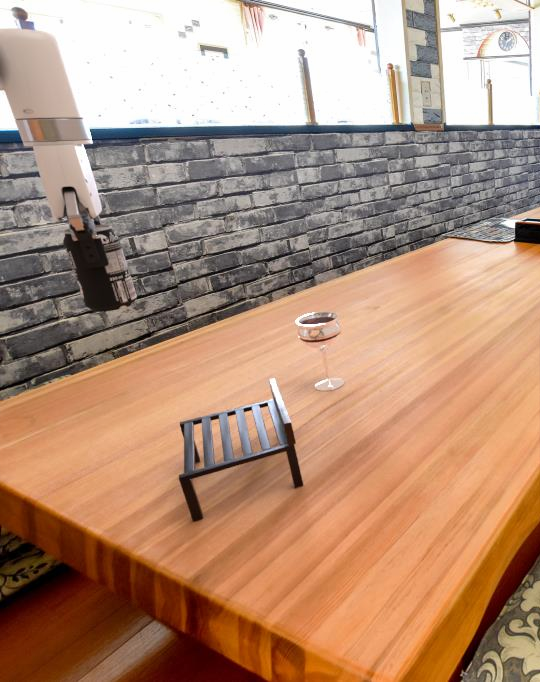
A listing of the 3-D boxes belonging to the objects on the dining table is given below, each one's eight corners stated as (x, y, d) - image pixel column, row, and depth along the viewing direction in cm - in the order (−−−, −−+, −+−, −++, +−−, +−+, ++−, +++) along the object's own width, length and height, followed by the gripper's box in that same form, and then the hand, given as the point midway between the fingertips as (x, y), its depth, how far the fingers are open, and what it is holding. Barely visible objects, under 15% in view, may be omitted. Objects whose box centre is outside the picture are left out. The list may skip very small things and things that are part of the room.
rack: (193, 521, 60) (170, 455, 56) (191, 460, 71) (173, 401, 68) (305, 485, 65) (291, 422, 62) (287, 433, 77) (274, 377, 73)
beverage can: (85, 306, 82) (57, 228, 78) (135, 297, 86) (111, 222, 82) (89, 316, 78) (60, 234, 73) (141, 305, 82) (117, 227, 77)
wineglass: (358, 378, 93) (347, 313, 88) (332, 395, 87) (319, 327, 82) (327, 373, 95) (315, 310, 91) (300, 389, 89) (286, 323, 85)
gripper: (33, 135, 78) (75, 255, 84) (4, 135, 64) (57, 278, 71) (96, 133, 81) (131, 248, 88) (81, 132, 67) (125, 269, 74)
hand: (98, 261), depth 79 cm, fingers closed on beverage can, 6 cm apart
